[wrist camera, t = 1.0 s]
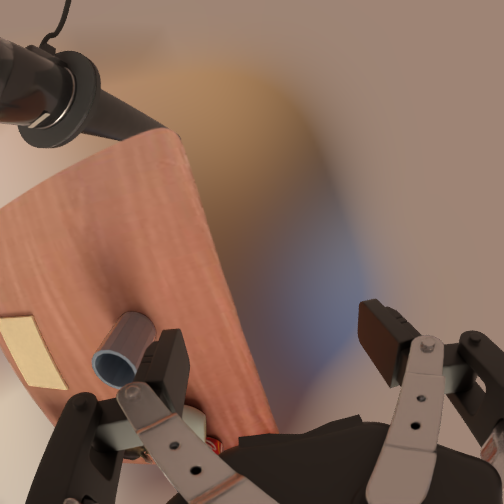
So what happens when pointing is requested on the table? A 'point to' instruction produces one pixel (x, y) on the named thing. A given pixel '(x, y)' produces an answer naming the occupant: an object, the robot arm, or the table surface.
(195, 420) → the air freshener
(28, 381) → the mat
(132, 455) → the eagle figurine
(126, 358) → the cup
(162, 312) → the table surface
